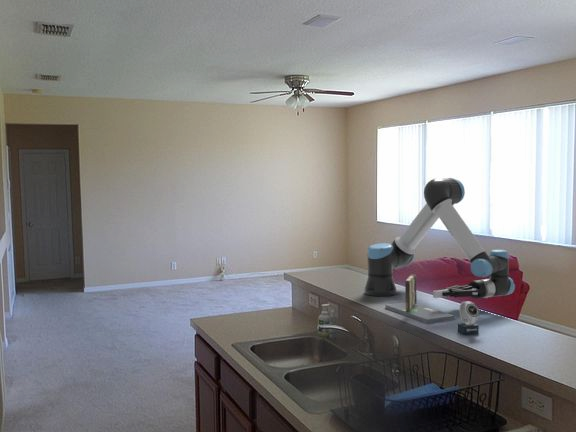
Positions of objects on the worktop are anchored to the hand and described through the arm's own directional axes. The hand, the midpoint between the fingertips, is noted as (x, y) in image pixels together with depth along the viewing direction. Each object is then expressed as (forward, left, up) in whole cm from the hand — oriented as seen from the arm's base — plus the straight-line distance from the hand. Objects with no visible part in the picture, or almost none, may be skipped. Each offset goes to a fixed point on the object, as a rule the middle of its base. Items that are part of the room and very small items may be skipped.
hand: (434, 294), depth 218 cm
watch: (+28, +7, -8) cm, 30 cm away
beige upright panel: (-3, -9, -6) cm, 11 cm away
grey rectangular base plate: (0, -6, -8) cm, 10 cm away
